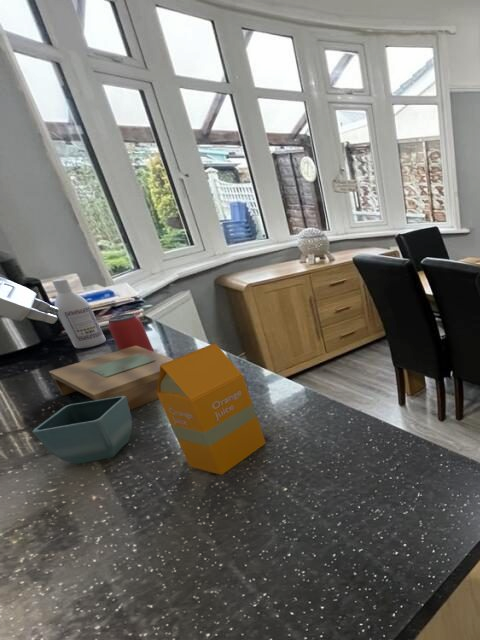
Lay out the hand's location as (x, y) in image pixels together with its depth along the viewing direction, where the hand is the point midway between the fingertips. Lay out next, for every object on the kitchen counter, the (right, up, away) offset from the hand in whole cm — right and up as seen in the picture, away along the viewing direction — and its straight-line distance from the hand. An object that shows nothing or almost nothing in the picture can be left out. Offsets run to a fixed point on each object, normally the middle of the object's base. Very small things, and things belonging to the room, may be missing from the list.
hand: (56, 316), depth 96 cm
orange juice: (+61, -27, -26) cm, 71 cm away
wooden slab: (+21, -18, -3) cm, 27 cm away
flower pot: (+38, -27, -25) cm, 53 cm away
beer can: (+8, -11, +14) cm, 19 cm away
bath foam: (-16, -7, +23) cm, 29 cm away
